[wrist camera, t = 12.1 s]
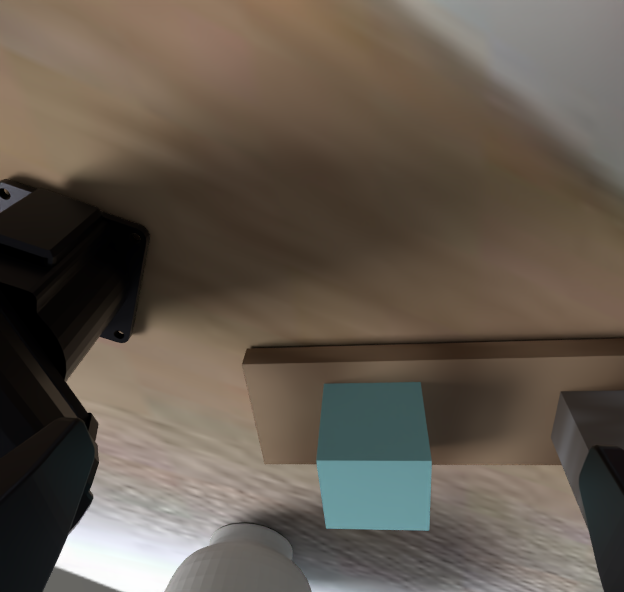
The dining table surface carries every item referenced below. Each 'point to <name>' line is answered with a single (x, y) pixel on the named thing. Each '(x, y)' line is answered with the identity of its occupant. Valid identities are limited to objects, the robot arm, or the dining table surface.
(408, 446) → the cube
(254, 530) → the teacup
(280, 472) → the dining table surface
